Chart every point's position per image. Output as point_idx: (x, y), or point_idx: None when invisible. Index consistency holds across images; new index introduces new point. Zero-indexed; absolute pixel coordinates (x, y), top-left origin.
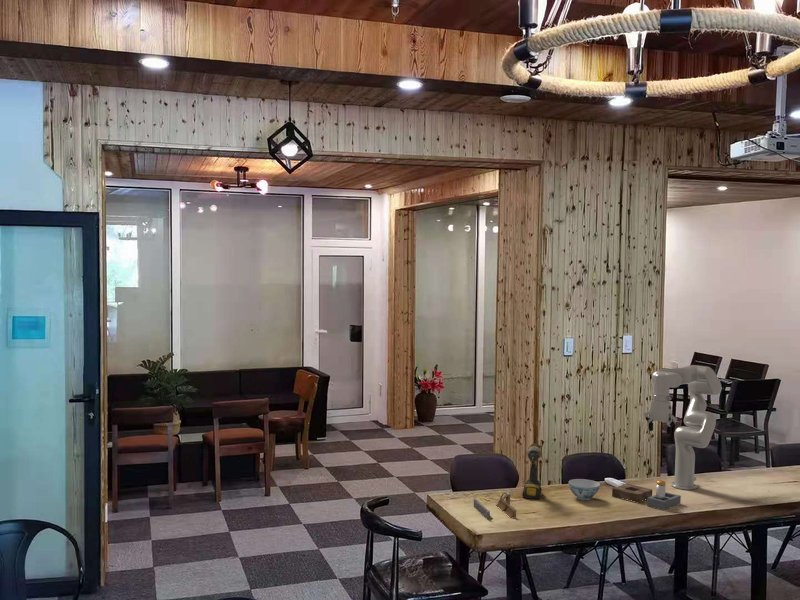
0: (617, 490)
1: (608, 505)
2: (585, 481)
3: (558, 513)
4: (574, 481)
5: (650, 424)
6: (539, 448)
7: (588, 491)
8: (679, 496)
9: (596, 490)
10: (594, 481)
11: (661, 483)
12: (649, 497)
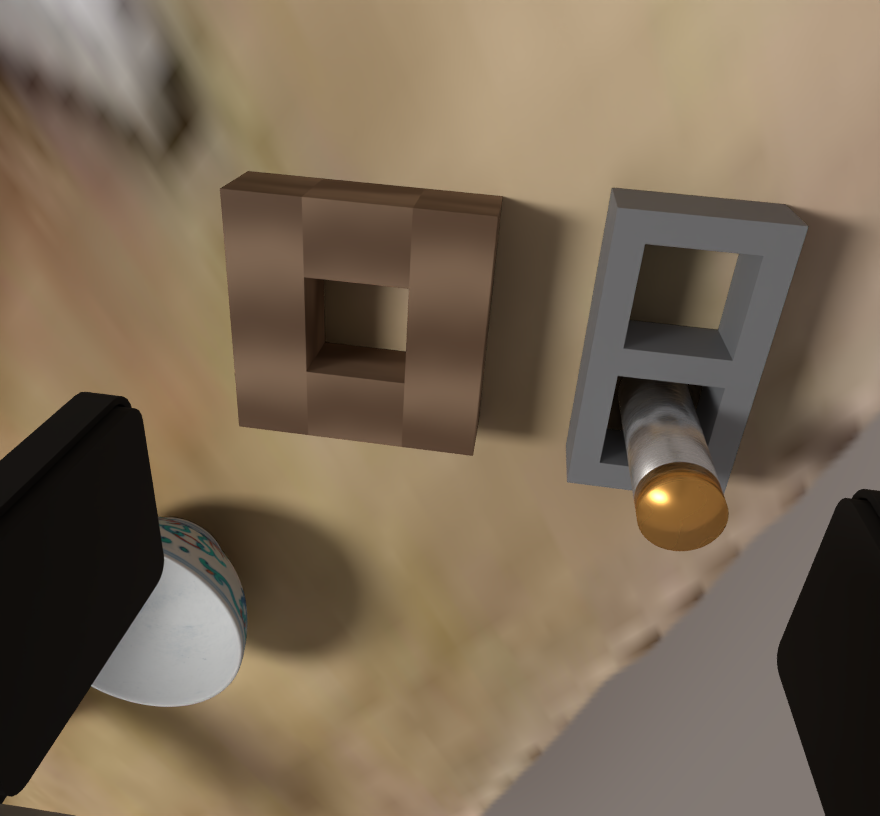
0: (288, 428)
1: (366, 582)
2: None
3: (275, 802)
4: None
5: (27, 768)
6: None
7: (228, 663)
8: (799, 251)
9: (246, 622)
10: None
11: (696, 543)
12: (578, 466)
